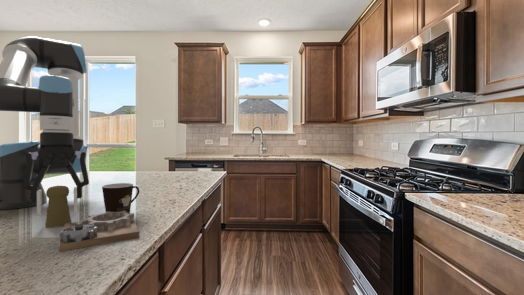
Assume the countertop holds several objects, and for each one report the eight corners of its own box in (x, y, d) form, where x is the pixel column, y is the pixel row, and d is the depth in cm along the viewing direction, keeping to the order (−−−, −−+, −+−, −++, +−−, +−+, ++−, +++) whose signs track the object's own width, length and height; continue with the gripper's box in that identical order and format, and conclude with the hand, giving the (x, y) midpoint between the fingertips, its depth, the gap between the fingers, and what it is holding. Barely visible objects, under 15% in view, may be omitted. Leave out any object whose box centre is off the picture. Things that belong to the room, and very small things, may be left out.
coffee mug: (105, 223, 78) (105, 189, 78) (99, 216, 84) (99, 185, 84) (146, 215, 86) (146, 184, 85) (138, 210, 92) (138, 181, 92)
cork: (57, 228, 73) (56, 188, 73) (39, 226, 74) (38, 187, 74) (76, 221, 79) (76, 184, 79) (59, 220, 80) (59, 183, 80)
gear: (61, 235, 64) (61, 222, 64) (96, 230, 68) (96, 217, 68) (58, 245, 58) (58, 231, 58) (97, 239, 62) (97, 225, 61)
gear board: (65, 228, 73) (65, 216, 72) (130, 219, 81) (130, 208, 81) (59, 251, 58) (59, 235, 58) (139, 237, 67) (139, 223, 67)
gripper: (4, 130, 67) (6, 220, 68) (99, 132, 78) (100, 209, 79) (11, 131, 73) (13, 213, 74) (98, 132, 84) (99, 204, 85)
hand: (58, 211), depth 76 cm, fingers open, 8 cm apart
